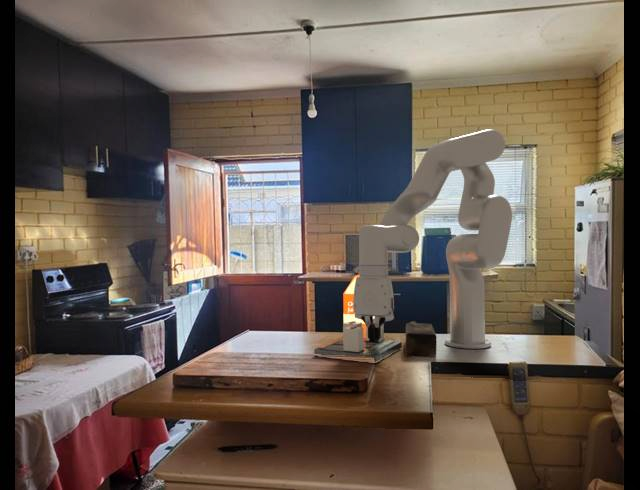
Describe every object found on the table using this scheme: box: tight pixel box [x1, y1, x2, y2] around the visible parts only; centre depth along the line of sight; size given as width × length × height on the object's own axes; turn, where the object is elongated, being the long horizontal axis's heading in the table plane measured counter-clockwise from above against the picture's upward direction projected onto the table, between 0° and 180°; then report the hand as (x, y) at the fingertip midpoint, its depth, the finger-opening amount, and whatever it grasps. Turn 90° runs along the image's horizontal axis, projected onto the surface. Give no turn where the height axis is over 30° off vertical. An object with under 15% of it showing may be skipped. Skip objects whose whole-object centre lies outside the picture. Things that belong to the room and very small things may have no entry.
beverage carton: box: [405, 321, 437, 359], centre depth 127 cm, size 8×19×7 cm, turn 170°
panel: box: [313, 336, 403, 362], centre depth 123 cm, size 19×17×2 cm
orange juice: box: [342, 274, 375, 338], centre depth 139 cm, size 8×9×20 cm
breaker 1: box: [342, 326, 364, 352], centre depth 117 cm, size 4×4×6 cm
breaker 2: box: [365, 319, 385, 342], centre depth 129 cm, size 4×4×6 cm
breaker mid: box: [342, 321, 362, 329], centre depth 124 cm, size 4×4×6 cm
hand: (374, 341), depth 121 cm, fingers closed
